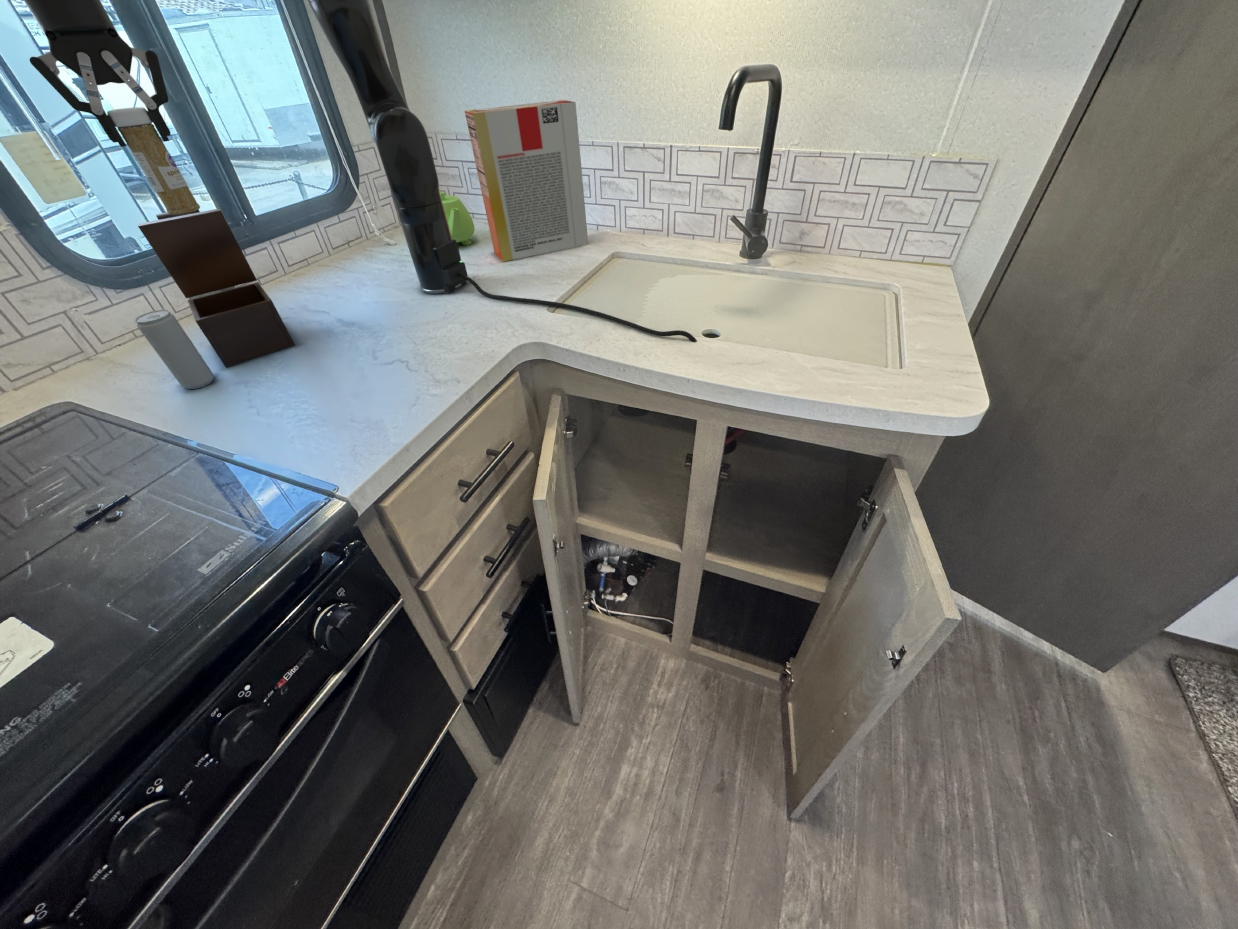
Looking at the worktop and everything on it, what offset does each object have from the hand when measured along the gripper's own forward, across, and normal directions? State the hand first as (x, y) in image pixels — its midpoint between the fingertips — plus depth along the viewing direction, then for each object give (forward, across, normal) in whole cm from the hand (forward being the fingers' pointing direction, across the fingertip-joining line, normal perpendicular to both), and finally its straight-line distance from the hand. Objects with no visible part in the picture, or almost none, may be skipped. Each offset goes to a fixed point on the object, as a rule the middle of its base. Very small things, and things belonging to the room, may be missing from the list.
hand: (145, 142), depth 73 cm
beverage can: (+33, -11, -9) cm, 36 cm away
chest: (+33, -1, 0) cm, 33 cm away
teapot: (+33, +53, +29) cm, 69 cm away
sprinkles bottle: (+10, 0, 0) cm, 10 cm away
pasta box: (+33, +67, +6) cm, 75 cm away
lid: (+17, -1, +4) cm, 18 cm away
